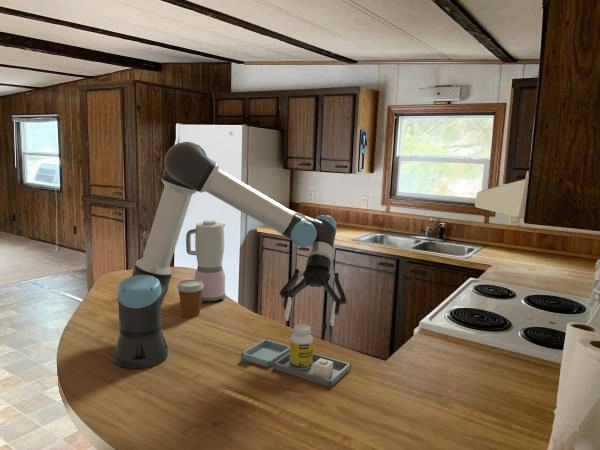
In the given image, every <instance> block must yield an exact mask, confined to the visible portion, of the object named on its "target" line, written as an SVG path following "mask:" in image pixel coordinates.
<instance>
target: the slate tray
mask: <svg viewBox="0 0 600 450" xmlns="http://www.w3.org/2000/svg"><path fill="white" fill-rule="evenodd" d="M289 352H290V345H288V344H284V343H281V342H277V341H273V340H270V339H268V338H265V339H263V340H261V341H260V342H258V343H256V344H254V345H252V346H251V347H248V348H247V349H245V350H244V351H242V352H241V355H240V356H241V359H240V360H241V362H244V363H247V364H251V365H254V364H257V365H260V366H264V367H265V368H266V367H267V368H271V367H272V366H274V363H275V362H276V361H278V360H279V359H280V358H282V357H283V356H285V355H286V354H288V353H289Z"/></svg>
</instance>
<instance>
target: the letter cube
mask: <svg viewBox="0 0 600 450" xmlns="http://www.w3.org/2000/svg"><path fill="white" fill-rule="evenodd" d="M313 375H316V376H320V377H323V378H326V379H329V378H330V377H331V376H332V375H333V362H332V361H329V360H325V359H322V358H320V359H319V360H317V361H316V362H315V363H313Z"/></svg>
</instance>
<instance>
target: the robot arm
mask: <svg viewBox="0 0 600 450" xmlns="http://www.w3.org/2000/svg"><path fill="white" fill-rule="evenodd" d="M163 163H164V169H163V173H162V176H161V182H162V183H163V184H164V185H163V186H164V187H163V190H162V194H161V197H160V200H159V204H158V207H157V210H156V213H155V215H154V216H155V217H154V220H153V222H152V226H151V230H150V233H149V236H148V239H147V242H146V245H145V249H144V251H143V252H144V253H143V254H142V258H140V259H138V260H136V262H135V264H134V267H133V270H132V272H131V273H132V274H131V276H128V277H127V278H124V279H123V280H122V281H121V282H120V283H119V284H118V289H117V300H118V301H117V302H118V304H117V305H118V322H119V323H118V324H119V335H118V338H117V343H116V347H115V348H114V350H113V361H114V364H116V365H117V366H119V367H121V368H124V369H144V368H150V367H154V366H156V365H158V364H161V363H162V362H164V361H165V360H166V359H167V358H168V356H169V347H168V346H169V345H168V344H167V342H166V338H165V336H164V333H163V330H162V305H163V302H164V299H165V297H166V295H167V293H168V290H169V284H170V282H171V279H172V275H173V270H172V268H171V267H172V266H171V263H172V262H171V261H172V259H173V258H172V257H173V255H174V253H175V249H176V246H177V244H178V240H179V238H180V233H181V230H182V227H183V224H184V221H185V219H186V214H187V212H188V208H189V206H190V202H191V198H192V197H193V195H194V194H196V193H198V192H199V193H208V194H209V195H212V196H213V197H215V198H217V199H218V200H220V201H222V202H224V203H225V204H227V205H229V206H231V207H232V208H233V209H237V210H238V211H239V212H241V213H244V214H245V215H247V216H249V217H250V218H252V219H254V220H256V221H258V222H259V223H260V224H263V225H264V226H266V227H268V228H270V229H271V230H273V231H275V232H277V233H279V234H280V235H282V236H283V237H285V238H287V239H289V240H291V241H292V243H293V244H295V245H296V246H298V247H301V248H305V247H309V248H308V249H309V250H308V255H307V260H306V265H305V270H304V271H303V270H299V269H298V268H295V269H294V272H293V275H292V276H291V277H290V279H288V281H287V283H286V284H284V286H283V287H282V289H281V290H280V291H279V295H280V297H281V298H283V299H284V300H283V305H282V307H283V309H284V310H285V313H284V320H285V321H286V322H289V319H290V318H289V317H290V313H291V307H292V303H293V301H292V298H293V297H295V296H296V295H297V294H299V293H300V292H301V291H303V290H304V289H305V288H307V287H308V286H310V287H311V288H314V287H317V288H321V287H323V288H324V290H325V291H326V292H327V294H328V295H329V297H330V298H331V299H332V301H333V302H332V306H331V315H330V321H329V322H330V326H331V327H334V324H335V318H336V317H335V316H339V314H340V307H341V306H342V305H346V304H347V297H346V295H345V292H344V290H343V287H342V284H341V282H340V277H339V276H340V275H339V273H338V272H335V273H333V274H331V273H330V272H331V266H332V265H331V264H332V258H333V251H334V244H335V239H336V236H337V222H336V220H335V218H334V217H332V216H330V215H328V214H327V215H325V214H321V215H317V216H316V217H315V218H313V217H310V216H307V215H304V214H303V213H300V212H296V211H295V210H292V209H289V208H287V207H285V206H284V205H282V204H280V203H279V202H277V201H276V200H274V199H272V198H270V197H268V196H267V195H265V194H263V193H262V192H260V191H259V190H257V189H255V188H253V187H251V186H250V185H248V184H246V183H244V182H243V181H241V180H239V179H237V178H236V177H234V176H232V175H231V174H229V173H228V172H226V171H224V170H222V169H220V167H219V163H217V162H216V161H214V160H212V159H211V158H209V157H208V156H207V153H206V151H205V150H204V149H203V148H202V146H200V145H199V144H197V143H195V142H191V141H183V142H178V143H176V144H174V145H173V146H171V147H169V149H168V150H167V151H166V153H165V156H164V162H163ZM301 277H303V278H302V279H301V281H300V282H299V283H297V282H298V280H299V279H300V278H301ZM330 280H332V282H334V285H335V287H336V289H337V292H338V294H339V296H338V295H337V293H336V292H335V290H334V289H333V288H332V287H331V286H330V284H329V282H328V281H330ZM296 283H297V284H296Z"/></svg>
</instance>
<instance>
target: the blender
mask: <svg viewBox="0 0 600 450" xmlns="http://www.w3.org/2000/svg"><path fill="white" fill-rule="evenodd" d="M225 226H226V224H225V223H221V222H217V220H214V219H206V220H203V221H202V222H199V223H196V225H195V228H193V229H189V230H187V232H186V235H185V247H186V253H187V254H188V255H190V256H196V262H197V268H196V270H195V272H194V280H199V281H202V283H203V285H204V287H203V289H202V297H201V304H203V303H204V302H206V301H219V300H221V301H225V299H226V274H225V270H224V268H223V266H222V265H223V258H224V252H225ZM193 234H195V235H194V237H195V238H194V239H195V241H194V245H195V247H194V248H195V250H192V245H191V244H192V243H191V242H192V241H191V235H193Z"/></svg>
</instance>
